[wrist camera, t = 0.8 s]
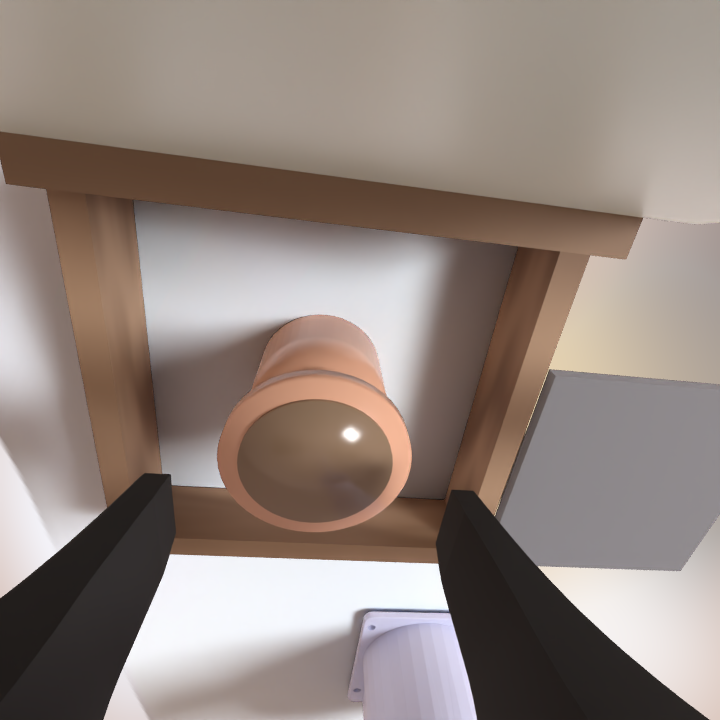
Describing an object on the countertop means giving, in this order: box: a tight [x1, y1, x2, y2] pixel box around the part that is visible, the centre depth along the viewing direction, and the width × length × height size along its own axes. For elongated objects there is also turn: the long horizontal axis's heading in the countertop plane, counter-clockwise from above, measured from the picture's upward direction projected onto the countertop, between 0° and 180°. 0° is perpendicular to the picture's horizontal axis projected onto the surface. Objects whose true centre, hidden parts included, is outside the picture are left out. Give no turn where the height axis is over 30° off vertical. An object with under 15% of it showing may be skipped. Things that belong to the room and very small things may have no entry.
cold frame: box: [0, 132, 643, 564], centre depth 15 cm, size 16×16×6 cm
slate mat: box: [495, 369, 720, 571], centre depth 22 cm, size 12×12×1 cm
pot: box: [217, 315, 412, 532], centre depth 15 cm, size 6×6×6 cm
